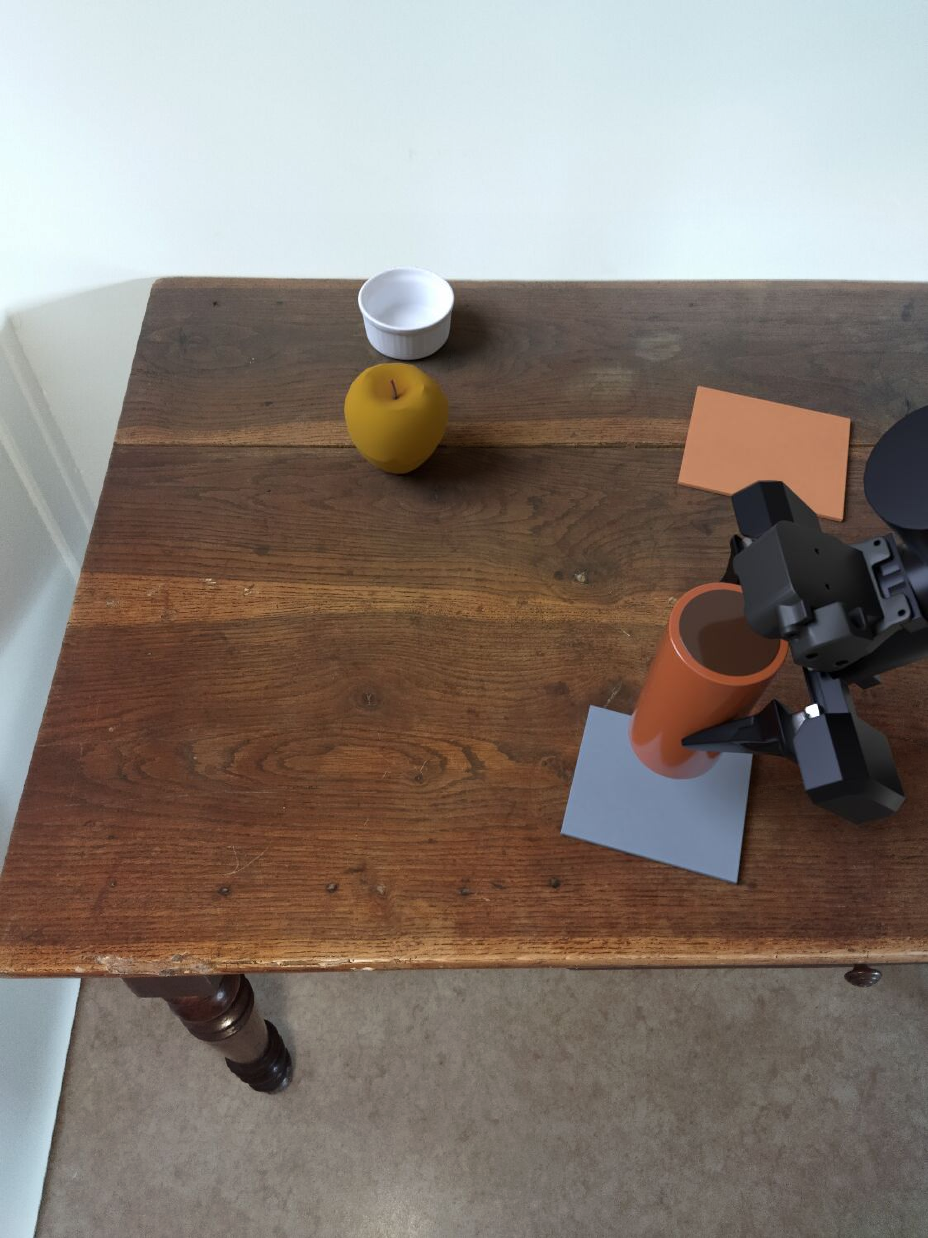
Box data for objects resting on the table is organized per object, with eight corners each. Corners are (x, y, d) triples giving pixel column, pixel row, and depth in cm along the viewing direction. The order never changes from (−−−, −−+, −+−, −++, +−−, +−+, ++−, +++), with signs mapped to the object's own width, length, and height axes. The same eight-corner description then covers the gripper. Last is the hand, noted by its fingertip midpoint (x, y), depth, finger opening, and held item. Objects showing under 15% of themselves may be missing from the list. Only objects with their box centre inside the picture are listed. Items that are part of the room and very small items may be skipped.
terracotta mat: (849, 421, 81) (850, 418, 80) (841, 522, 75) (843, 519, 74) (697, 388, 82) (698, 385, 82) (677, 484, 77) (678, 481, 76)
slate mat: (752, 750, 64) (753, 747, 64) (735, 884, 59) (737, 882, 59) (589, 707, 65) (590, 704, 65) (560, 834, 60) (560, 832, 60)
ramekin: (343, 330, 85) (338, 293, 82) (412, 290, 89) (411, 252, 85) (403, 379, 82) (401, 343, 78) (472, 336, 85) (474, 299, 82)
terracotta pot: (730, 707, 59) (797, 599, 47) (714, 792, 56) (780, 699, 44) (639, 680, 60) (682, 568, 48) (618, 763, 57) (658, 664, 45)
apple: (455, 427, 79) (457, 351, 72) (437, 501, 75) (437, 428, 67) (362, 413, 80) (354, 336, 72) (339, 485, 76) (328, 411, 68)
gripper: (828, 364, 43) (574, 510, 52) (956, 716, 33) (616, 820, 42) (913, 468, 50) (676, 581, 59) (1038, 782, 40) (732, 859, 49)
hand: (675, 693), depth 52 cm, fingers closed on terracotta pot, 6 cm apart
